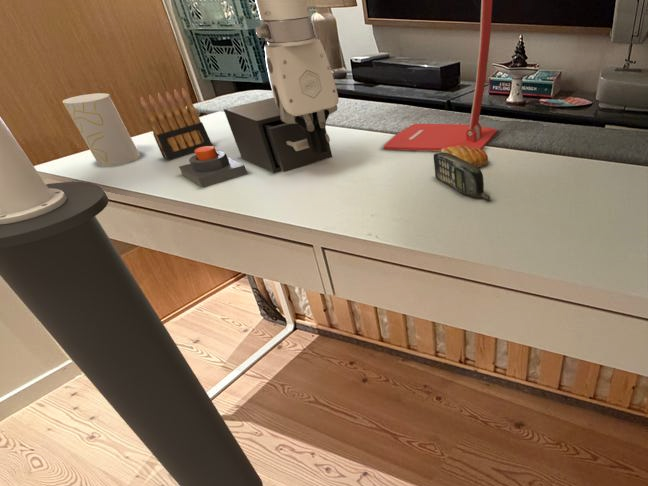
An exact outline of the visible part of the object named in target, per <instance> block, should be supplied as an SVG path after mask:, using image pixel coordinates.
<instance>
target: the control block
mask: <svg viewBox="0 0 648 486" xmlns="http://www.w3.org/2000/svg"><path fill="white" fill-rule="evenodd" d="M216 153H217V155H218V157H216V158H213V159H209V160H198V158H197V156H196V154H194V155H192V156H190V157H189V159H188V162H189V163H188V164H183V165H180V166H178V168H179V171H180V173H181V176H183V177H185V178H186V179H188V180H190V181H191V182H193V183H195V184H196V185H197V186H199V187H201V188H206V187H209V186H211V185H215V184H218V183H222V182H226V181H229V180H232V179H235V178H239V177H242V176H245V175H247V174H248V171H247V168H246V165H245V164H243V163H241V162H239V161H237V160H235V159H233V158H231V157H229V156H228V155H227V153H226V152H225V151H222V150H216Z"/></svg>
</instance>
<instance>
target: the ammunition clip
mask: <svg viewBox="0 0 648 486" xmlns="http://www.w3.org/2000/svg"><path fill="white" fill-rule="evenodd" d="M181 92H182V97H183V98H182V97H181V95H180V93H179V92H178V90H176V89H175V88H174V89H173V94H174V98H175V100H174V98H173V96H172V95H171V93H170V92H169V91H168V90H165V95H166V100H167V102H166V100H165V98H163V95H162V94H161V93H160V92H157V99H158V102H159V105H160V107H159V105H158V103H157V101H156V100H155V98H154V97H153V96H152V95H151V94H149V95H148V99H149V102H150V106H151V108H152V110H151V108H150V106H149V104H148V103H147V101H146V100H145V99H144V97H142V96H140V99H139V100H140V103H141V108H142V109H143V112H144V114H145V116H146V120H147V122H148V125H149V126H150V129H151V131H152V136H153V137H154V139H155V142H156V144H157V147H158V150H159V151H160V154H161V155H162V158H163V160H167V161H171V160H174V159H177V158H180V157H183V156H186V155H187V156H188V155H190V154H192V153H195V151H194V150H195V149H197V148H199V147H204V146H213V143H212V141H211V138H210V137H209V135H208V132H207V130H206V128H205V126H204V124H203V122H202V121H201V118H200V116H199V114H198V111H197V109H196V107H195V106H194V104H193V102H192V99H191V98H190V96H189V93H188V92H187V90H186V89H185V88H184V87H181ZM175 101H176V102H175ZM184 102H185V103H184ZM167 103H168V104H167ZM176 103H177V104H176ZM168 105H169V106H168ZM160 108H161V109H160ZM152 111H153V112H152Z"/></svg>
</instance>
